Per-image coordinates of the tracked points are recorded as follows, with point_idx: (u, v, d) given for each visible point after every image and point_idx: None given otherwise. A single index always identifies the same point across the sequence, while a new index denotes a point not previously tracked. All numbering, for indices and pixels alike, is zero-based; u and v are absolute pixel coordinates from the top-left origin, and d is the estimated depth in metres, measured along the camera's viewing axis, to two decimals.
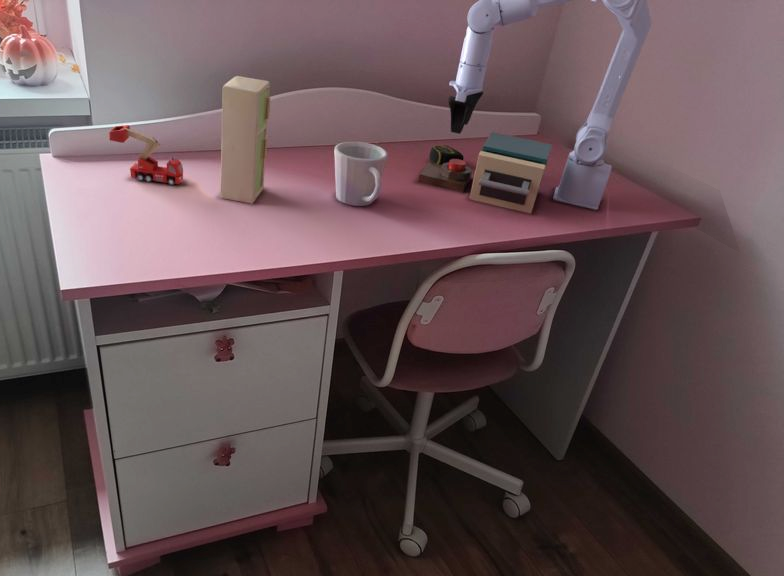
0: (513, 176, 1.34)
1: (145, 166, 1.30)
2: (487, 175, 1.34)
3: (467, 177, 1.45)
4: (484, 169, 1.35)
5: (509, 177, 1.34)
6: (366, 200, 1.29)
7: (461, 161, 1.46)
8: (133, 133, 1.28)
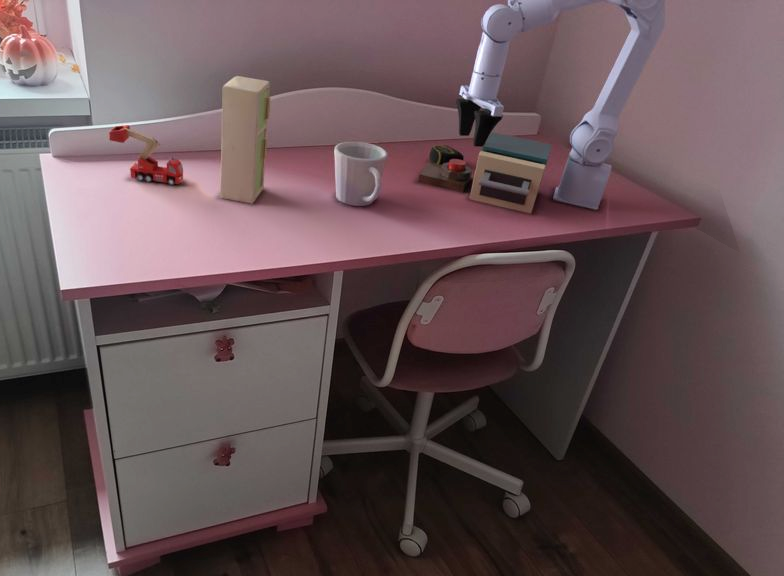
0: (513, 176, 1.34)
1: (145, 166, 1.30)
2: (487, 175, 1.34)
3: (467, 177, 1.45)
4: (484, 169, 1.35)
5: (509, 177, 1.34)
6: (366, 200, 1.29)
7: (461, 161, 1.46)
8: (133, 133, 1.28)
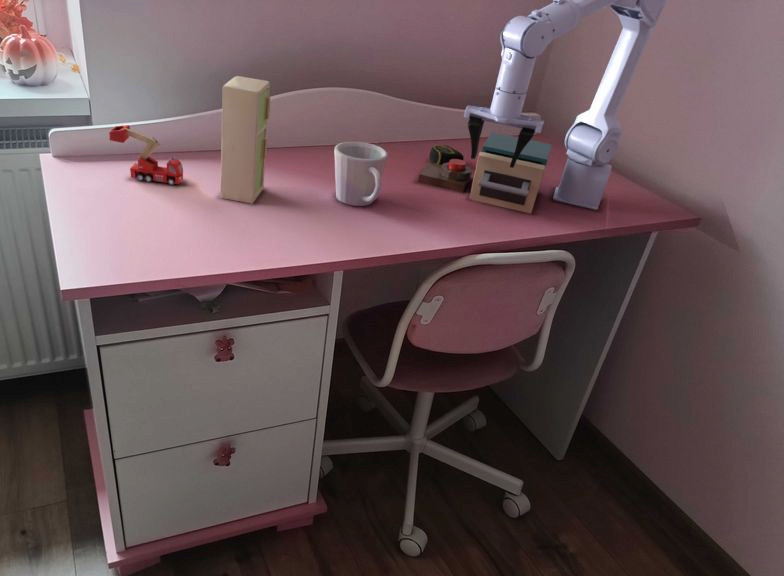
0: (513, 176, 1.33)
1: (145, 166, 1.30)
2: (487, 176, 1.34)
3: (467, 177, 1.45)
4: (484, 170, 1.35)
5: (509, 178, 1.34)
6: (366, 200, 1.29)
7: (461, 161, 1.46)
8: (133, 133, 1.28)
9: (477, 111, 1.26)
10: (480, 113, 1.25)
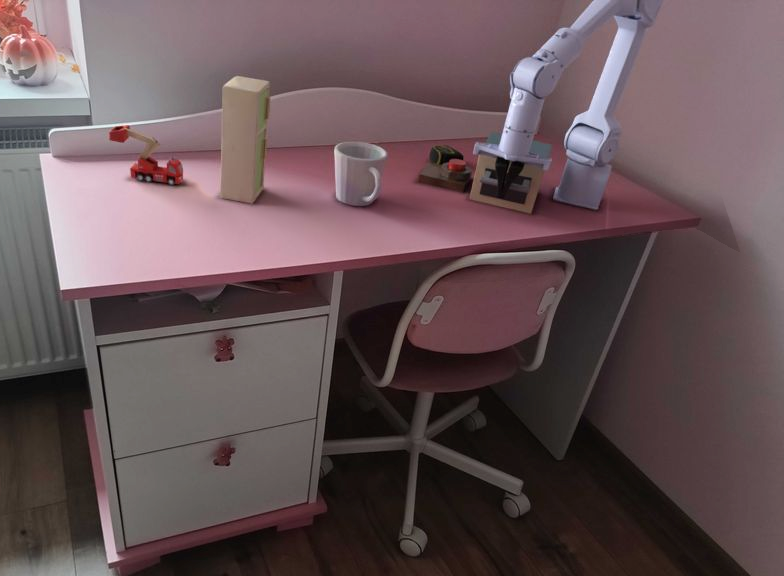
0: None
1: (145, 166, 1.30)
2: (488, 173, 1.35)
3: (467, 177, 1.45)
4: (485, 167, 1.35)
5: None
6: (366, 200, 1.29)
7: (461, 161, 1.46)
8: (133, 133, 1.28)
9: (486, 148, 1.27)
10: (489, 150, 1.27)
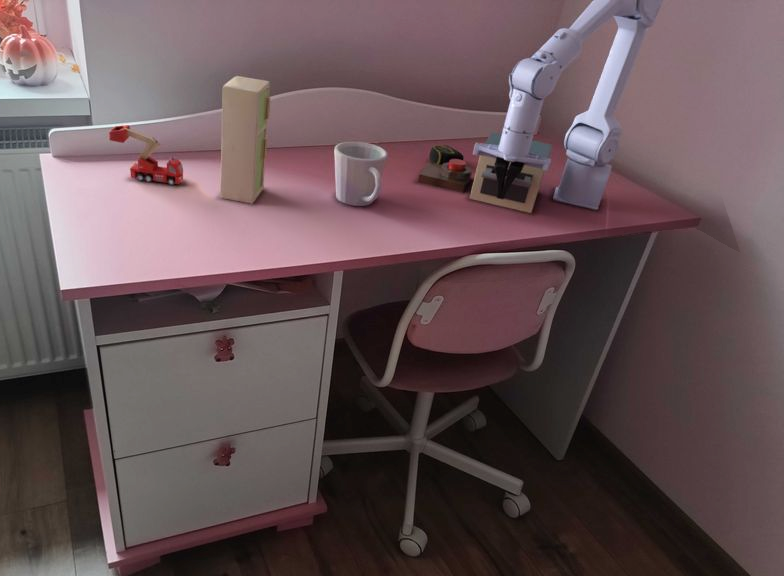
0: None
1: (145, 166, 1.30)
2: (489, 169, 1.35)
3: (467, 177, 1.45)
4: (486, 164, 1.36)
5: None
6: (366, 200, 1.29)
7: (461, 161, 1.46)
8: (133, 133, 1.28)
9: (486, 149, 1.28)
10: (489, 151, 1.28)
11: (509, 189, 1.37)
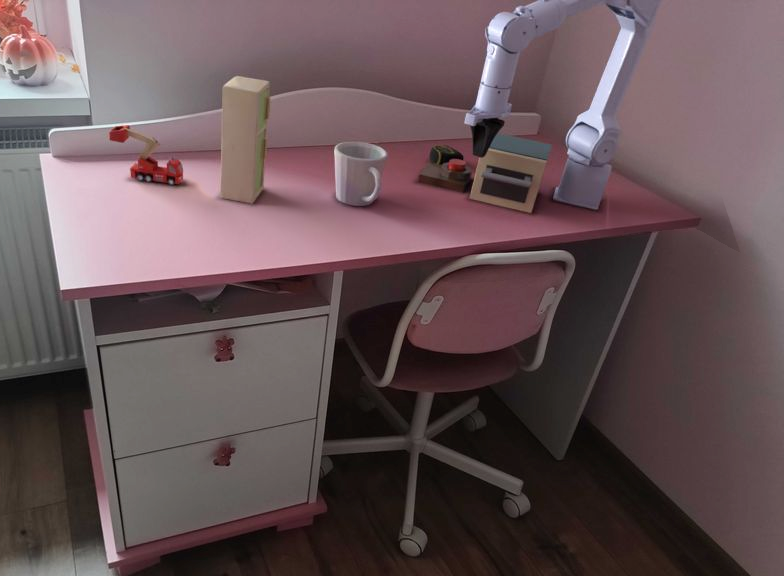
0: (515, 171, 1.35)
1: (145, 166, 1.30)
2: (489, 169, 1.35)
3: (467, 177, 1.45)
4: (486, 164, 1.36)
5: (511, 173, 1.35)
6: (366, 200, 1.29)
7: (461, 161, 1.46)
8: (133, 133, 1.28)
9: (483, 115, 1.24)
10: (486, 116, 1.24)
11: (509, 189, 1.37)
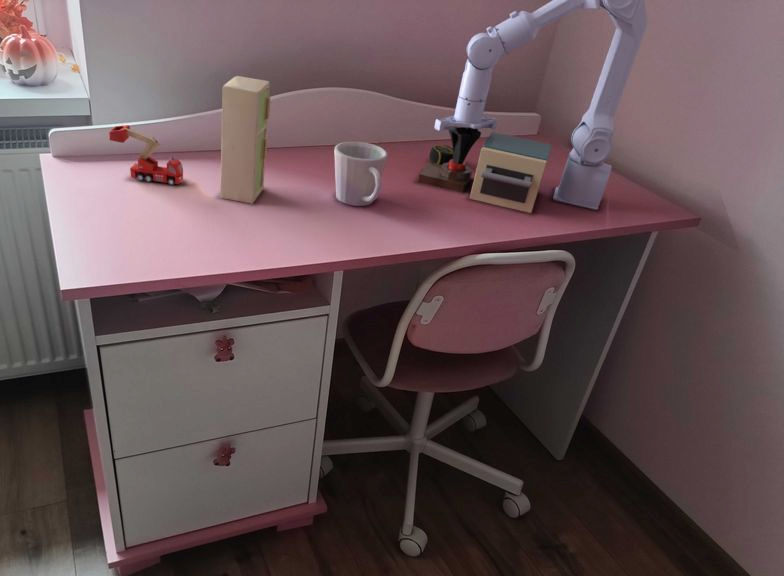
0: (515, 171, 1.35)
1: (145, 166, 1.30)
2: (489, 169, 1.35)
3: (467, 177, 1.45)
4: (486, 164, 1.36)
5: (511, 173, 1.35)
6: (366, 200, 1.29)
7: None
8: (133, 133, 1.28)
9: (451, 123, 1.37)
10: (454, 124, 1.37)
11: (509, 189, 1.37)
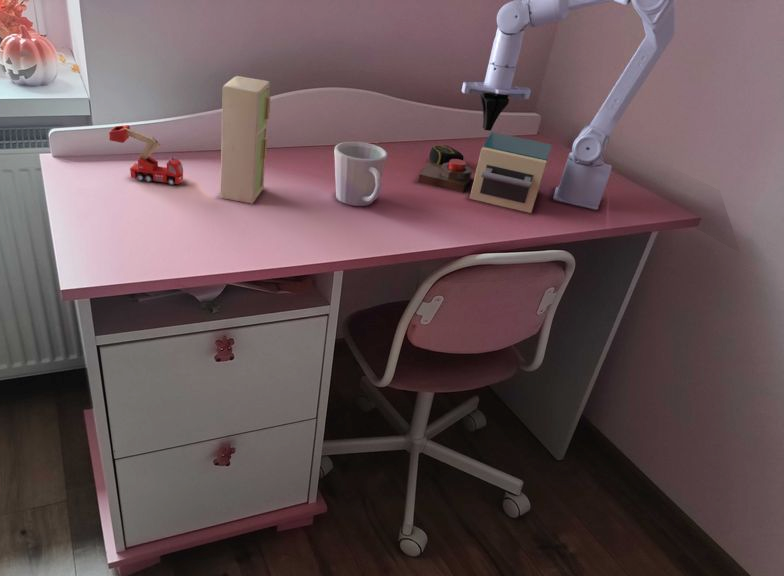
0: (515, 171, 1.35)
1: (145, 166, 1.30)
2: (489, 169, 1.35)
3: (467, 177, 1.45)
4: (486, 164, 1.36)
5: (511, 173, 1.35)
6: (366, 200, 1.29)
7: (461, 161, 1.46)
8: (133, 133, 1.28)
9: (476, 86, 1.41)
10: (479, 88, 1.41)
11: (509, 189, 1.37)
